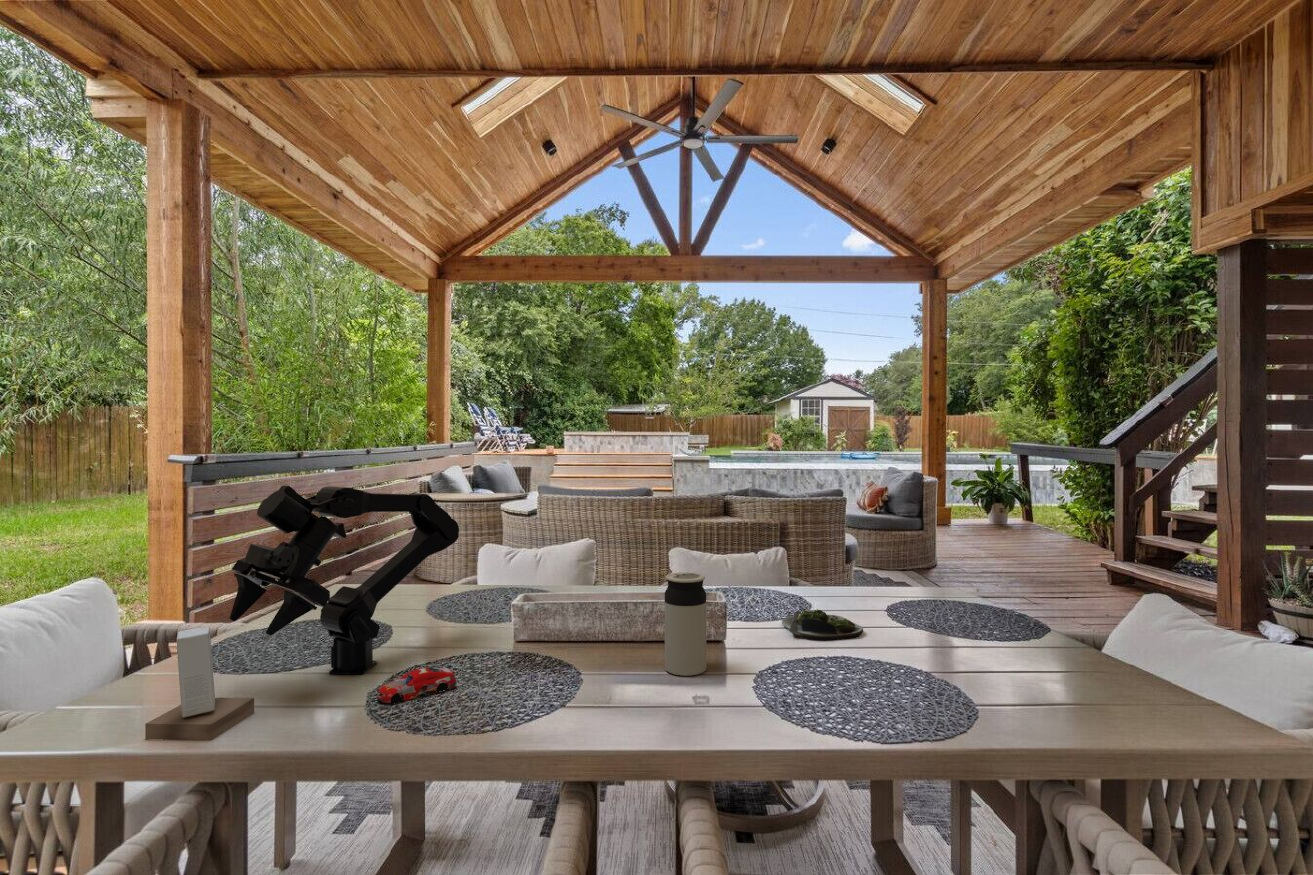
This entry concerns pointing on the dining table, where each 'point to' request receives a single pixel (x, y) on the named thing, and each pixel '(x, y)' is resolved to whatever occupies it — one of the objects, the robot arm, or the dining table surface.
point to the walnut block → (200, 721)
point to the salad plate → (821, 626)
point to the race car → (417, 684)
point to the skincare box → (195, 671)
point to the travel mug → (685, 624)
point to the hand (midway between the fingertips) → (249, 627)
